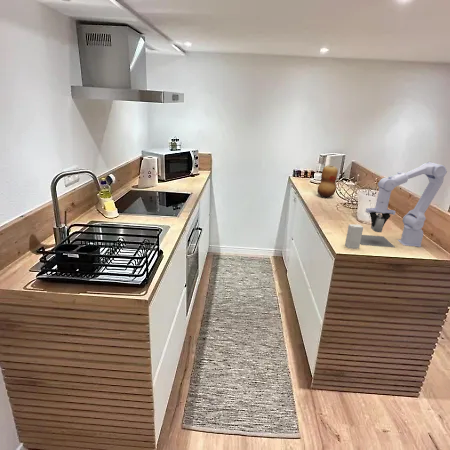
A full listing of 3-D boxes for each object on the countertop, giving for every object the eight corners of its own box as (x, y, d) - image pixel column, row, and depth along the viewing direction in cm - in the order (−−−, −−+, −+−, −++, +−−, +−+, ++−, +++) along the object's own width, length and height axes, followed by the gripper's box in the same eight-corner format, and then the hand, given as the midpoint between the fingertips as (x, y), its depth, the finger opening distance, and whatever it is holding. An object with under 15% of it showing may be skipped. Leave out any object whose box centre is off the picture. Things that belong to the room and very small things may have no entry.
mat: (383, 237, 197) (383, 236, 196) (395, 248, 181) (395, 247, 181) (351, 234, 197) (351, 234, 197) (360, 245, 182) (360, 244, 181)
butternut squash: (321, 199, 270) (326, 167, 262) (313, 194, 282) (318, 164, 274) (337, 199, 273) (343, 167, 265) (329, 194, 286) (334, 164, 277)
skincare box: (355, 246, 180) (359, 224, 176) (359, 249, 176) (364, 227, 172) (344, 245, 180) (348, 223, 176) (347, 249, 175) (352, 226, 171)
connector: (377, 227, 188) (380, 212, 185) (382, 232, 180) (386, 216, 177) (369, 227, 188) (373, 211, 185) (375, 232, 180) (378, 216, 177)
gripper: (393, 200, 182) (387, 224, 187) (365, 198, 183) (360, 222, 187) (399, 204, 176) (393, 229, 180) (370, 202, 176) (365, 227, 181)
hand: (377, 226), depth 183 cm, fingers closed on connector, 4 cm apart
